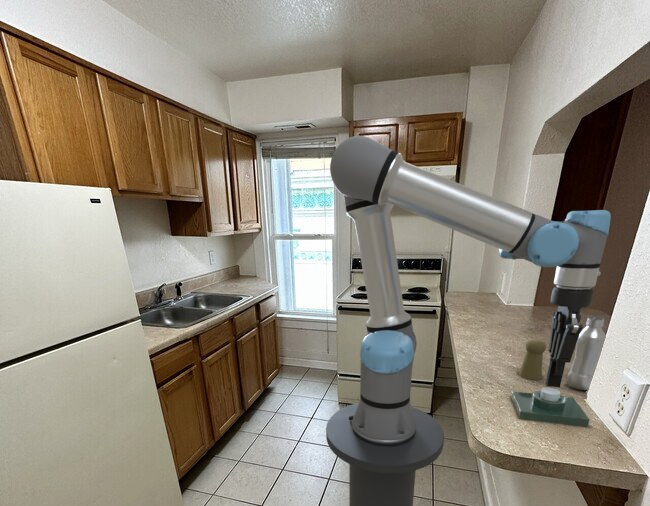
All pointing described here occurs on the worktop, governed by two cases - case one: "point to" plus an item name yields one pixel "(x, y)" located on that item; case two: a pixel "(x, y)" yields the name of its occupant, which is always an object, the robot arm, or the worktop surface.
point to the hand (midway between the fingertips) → (552, 385)
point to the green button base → (549, 409)
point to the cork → (533, 360)
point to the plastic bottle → (587, 354)
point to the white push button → (550, 394)
